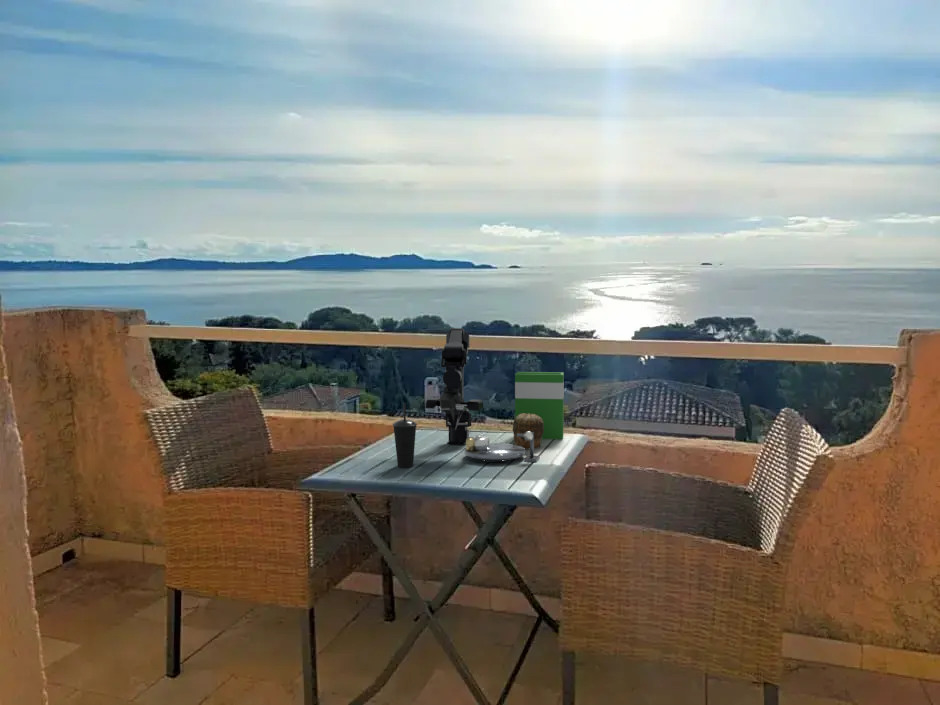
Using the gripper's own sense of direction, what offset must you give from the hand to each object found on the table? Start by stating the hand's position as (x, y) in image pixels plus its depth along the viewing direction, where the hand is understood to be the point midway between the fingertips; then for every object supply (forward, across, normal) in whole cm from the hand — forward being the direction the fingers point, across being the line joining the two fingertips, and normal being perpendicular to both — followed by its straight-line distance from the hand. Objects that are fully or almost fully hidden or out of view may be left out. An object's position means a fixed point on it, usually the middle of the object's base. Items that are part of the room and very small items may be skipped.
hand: (454, 429), depth 247 cm
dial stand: (+9, +25, 0) cm, 26 cm away
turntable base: (+9, +14, 0) cm, 16 cm away
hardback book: (+9, +21, +38) cm, 44 cm away
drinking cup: (+9, -10, -19) cm, 23 cm away
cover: (+6, +8, 0) cm, 10 cm away
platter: (+7, +14, 0) cm, 16 cm away
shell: (+9, +21, +19) cm, 30 cm away
